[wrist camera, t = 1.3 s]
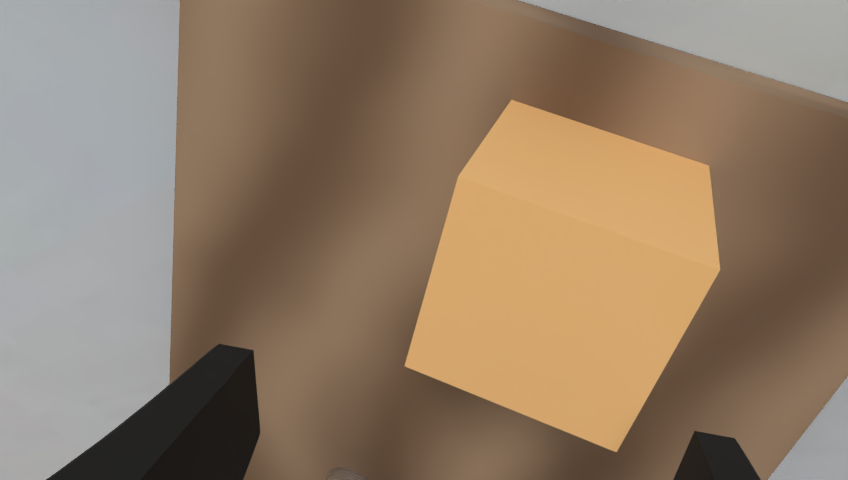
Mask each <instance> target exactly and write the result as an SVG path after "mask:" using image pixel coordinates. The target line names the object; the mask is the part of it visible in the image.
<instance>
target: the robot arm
mask: <svg viewBox="0 0 848 480" xmlns="http://www.w3.org/2000/svg"><path fill="white" fill-rule="evenodd" d="M259 436H260V421H259V409H258V397H257V386H256V374H255V362H254V351H253V350H251V349H245V348H240V347H234V346H229V345H223V344H218V345H216V346H215V347H213V348H212V349H211V350H210V351H209V352H207V353H206V354H205V355H204V356H203V357H201V358H200V359H199V360H198V361H197V362H196V363H194V364H193V365H192V366H191V367H190V368H189V369H187V370H186V371H185V372H184V373H183V374H181V375H180V376H179V377H178V378H177V379H176V380H174V381H173V382H172V383H171V384H170V385H168V386H167V387H166V388H165V389H164V390H162V391H161V392H160V393H159V394H158V395H156V396H155V397H154V398H153V399H152V400H150V401H149V402H148V403H147V404H145V405H144V406H143V407H142V408H140V409H139V410H138V411H137V412H135V413H134V414H133V415H132V416H130V417H129V418H128V419H127V420H125V421H124V422H123V423H122V424H120V425H119V426H118V427H117V428H115V429H114V430H113V431H112V432H110V433H109V434H108V435H107V436H105V437H104V438H103V439H101V440H100V441H99V442H97V443H96V444H95V445H93V446H92V447H90V448H89V449H88V450H86V451H85V452H84V453H82V454H81V455H80V456H78V457H77V458H75V459H74V460H73V461H71V462H70V463H69V464H67V465H66V466H65V467H63V468H62V469H60V470H59V471H58V472H56V473H55V474H53V475H52V476H51V477H49V478H48V479H46V480H243V479H244V476H245V474H246V471H247V468H248V466H249V463H250V461H251V458H252V455H253V452H254V450H255V447H256V444H257V441H258V439H259ZM673 480H761V479H760V477H759V476H758V474H757V472H756V471H755V469H754V468H753V466H752V464H751V463H750V461H749V459H748V458H747V456H746V455H745V453H744V451H743V450H742V448H741V446H740V445H739V443H738V442H737V441H736V439H735V438H731V437H726V436H720V435H715V434H709V433H704V432H698V431H694V433H693V435H692V438H691V440H690V442H689V445H688V447H687V449H686V451H685V454H684V456H683V458H682V461H681V463H680V465H679V468H678V470H677V472H676V474H675V477H674V479H673Z"/></svg>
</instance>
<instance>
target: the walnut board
mask: <svg viewBox="0 0 848 480" xmlns="http://www.w3.org/2000/svg"><path fill="white" fill-rule="evenodd" d="M511 100H514V101H517V102H520V103H523V104H526V105H529V106H532V107H535V108H538V109H541V110H544V111H547V112H550V113H553V114H556V115H559V116H562V117H565V118H568V119H571V120H574V121H577V122H580V123H583V124H586V125H589V126H592V127H595V128H598V129H601V130H604V131H607V132H610V133H613V134H616V135H619V136H622V137H625V138H628V139H631V140H634V141H637V142H640V143H643V144H646V145H649V146H652V147H655V148H658V149H661V150H664V151H667V152H670V153H673V154H676V155H679V156H682V157H685V158H688V159H691V160H694V161H697V162H700V163H703V164H706V165H709V169H710V178H711V188H712V197H713V206H714V216H715V225H716V235H717V244H718V253H719V263H720V271H719V273H718V275H717V276H716V278H715V280H714V282H713V283H712V285H711V287H710V289H709V290H708V292H707V294H706V296H705V298H704V299H703V301H702V303H701V305H700V306H699V308H698V310H697V312H696V313H695V315H694V317H693V319H692V320H691V322H690V324H689V326H688V327H687V329H686V331H685V333H684V334H683V336H682V338H681V340H680V342H679V343H678V345H677V347H676V349H675V350H674V352H673V354H672V356H671V357H670V359H669V361H668V363H667V364H666V366H665V368H664V370H663V371H662V373H661V375H660V377H659V378H658V380H657V382H656V384H655V386H654V387H653V389H652V391H651V393H650V394H649V396H648V398H647V400H646V401H645V403H644V405H643V407H642V408H641V410H640V412H639V414H638V415H637V417H636V419H635V421H634V422H633V424H632V426H631V428H630V430H629V431H628V433H627V435H626V437H625V438H624V440H623V442H622V444H621V445H620V447H619V449H618V451H617V452H614V451H612V450H609V449H607V448H604V447H602V446H600V445H597V444H595V443H592V442H590V441H587V440H585V439H582V438H580V437H577V436H575V435H572V434H570V433H568V432H565V431H563V430H560V429H558V428H555V427H553V426H550V425H548V424H545V423H543V422H541V421H538V420H536V419H533V418H531V417H528V416H526V415H523V414H521V413H518V412H516V411H513V410H511V409H509V408H506V407H504V406H501V405H499V404H496V403H494V402H491V401H489V400H486V399H484V398H481V397H479V396H477V395H474V394H472V393H469V392H467V391H464V390H462V389H459V388H457V387H454V386H452V385H449V384H447V383H445V382H442V381H440V380H437V379H435V378H432V377H430V376H427V375H425V374H422V373H420V372H418V371H415V370H413V369H410V368H408V367H405V362H406V359H407V355H408V352H409V348H410V345H411V341H412V338H413V334H414V331H415V327H416V323H417V320H418V316H419V313H420V309H421V306H422V302H423V299H424V295H425V292H426V288H427V285H428V281H429V278H430V274H431V271H432V267H433V263H434V260H435V256H436V253H437V249H438V246H439V242H440V239H441V235H442V232H443V228H444V225H445V221H446V218H447V214H448V211H449V207H450V203H451V200H452V196H453V193H454V189H455V186H456V182H457V179H458V176H459V174H460V173H461V172H462V170H463V169H464V167H465V166H466V164H467V163H468V162H469V160H470V159H471V157H472V156H473V154H474V153H475V151H476V150H477V149H478V147H479V146H480V144H481V143H482V141H483V140H484V139H485V137H486V136H487V134H488V133H489V131H490V130H491V128H492V127H493V126H494V124H495V123H496V121H497V120H498V118H499V117H500V115H501V114H502V113H503V111H504V110H505V108H506V107H507V105H508V104H509V103H510V101H511ZM218 344H223V345H229V346H234V347H240V348H245V349H251V350H253V351H254V362H255V374H256V386H257V397H258V409H259V421H260V436H259V439H258V441H257V444H256V447H255V450H254V452H253V455H252V458H251V461H250V463H249V466H248V468H247V471H246V474H245V476H244V479H243V480H325V478H326V476H327V475H328V473H329V472H330V471H331V470H332V469H334V468H338V467H346V468H350V469H353V470H356V471H358V472H359V473H361V474H362V475H364V476H365V477H366V478H367V479H368V480H673V479H674V477H675V474H676V472H677V470H678V468H679V465H680V463H681V461H682V458H683V456H684V454H685V451H686V449H687V447H688V445H689V442H690V440H691V438H692V435H693V433H694V431H698V432H704V433H709V434H715V435H720V436H726V437H731V438H735V439H736V441H737V442H738V443H739V445H740V446H741V448H742V450H743V451H744V453H745V455H746V456H747V458H748V459H749V461H750V463H751V464H752V466H753V468H754V469H755V471H756V472H757V474H758V476H759V477H760V479H761V480H768V478H769V477H770V476H771V474H772V473H773V472H774V471H775V469H776V468H777V467H778V465H779V464H780V463H781V461H782V460H783V459H784V458H785V456H786V455H787V454H788V452H789V451H790V450H791V449H792V447H793V446H794V445H795V443H796V442H797V441H798V440H799V438H800V437H801V436H802V434H803V433H804V432H805V431H806V429H807V428H808V427H809V425H810V424H811V423H812V422H813V420H814V419H815V418H816V416H817V415H818V414H819V412H820V411H821V410H822V409H823V407H824V406H825V405H826V403H827V402H828V401H829V400H830V398H831V397H832V396H833V394H834V393H835V392H836V391H837V389H838V388H839V387H840V385H841V384H842V383H843V382H844V380H845V379H846V378H847V376H848V103H847V102H844V101H841V100H837V99H834V98H831V97H828V96H825V95H821V94H818V93H815V92H812V91H808V90H805V89H802V88H799V87H795V86H792V85H789V84H786V83H783V82H779V81H776V80H773V79H770V78H766V77H763V76H760V75H757V74H754V73H750V72H747V71H744V70H741V69H737V68H734V67H731V66H728V65H725V64H721V63H718V62H715V61H712V60H708V59H705V58H702V57H699V56H696V55H692V54H689V53H686V52H683V51H679V50H676V49H673V48H670V47H667V46H663V45H660V44H657V43H654V42H650V41H647V40H644V39H641V38H637V37H634V36H631V35H628V34H625V33H621V32H618V31H615V30H612V29H608V28H605V27H602V26H599V25H596V24H592V23H589V22H586V21H583V20H579V19H576V18H573V17H570V16H567V15H563V14H560V13H557V12H554V11H550V10H547V9H544V8H541V7H538V6H534V5H531V4H528V3H525V2H521V1H518V0H180V22H179V58H178V95H177V131H176V168H175V204H174V240H173V277H172V313H171V350H170V384H171V383H172V382H173V381H174V380H176V379H177V378H178V377H179V376H180V375H181V374H183V373H184V372H185V371H186V370H187V369H189V368H190V367H191V366H192V365H193V364H194V363H196V362H197V361H198V360H199V359H200V358H201V357H203V356H204V355H205V354H206V353H207V352H209V351H210V350H211V349H212V348H213V347H215V346H216V345H218Z"/></svg>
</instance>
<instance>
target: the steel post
mask: <svg viewBox="0 0 848 480" xmlns="http://www.w3.org/2000/svg"><path fill="white" fill-rule="evenodd" d="M325 480H368V479H367V478H366V477H365V476H364V475H362V474H361V473H359V472H358V471H356V470H353V469H350V468H346V467H338V468H334V469H332V470H331V471H330V472H329V473H328V475H327V476H326V478H325Z"/></svg>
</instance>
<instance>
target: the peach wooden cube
mask: <svg viewBox="0 0 848 480" xmlns="http://www.w3.org/2000/svg"><path fill="white" fill-rule="evenodd" d="M719 271H720V263H719V253H718V244H717V235H716V225H715V216H714V206H713V197H712V188H711V178H710V169H709V165H706V164H703V163H700V162H697V161H694V160H691V159H688V158H685V157H682V156H679V155H676V154H673V153H670V152H667V151H664V150H661V149H658V148H655V147H652V146H649V145H646V144H643V143H640V142H637V141H634V140H631V139H628V138H625V137H622V136H619V135H616V134H613V133H610V132H607V131H604V130H601V129H598V128H595V127H592V126H589V125H586V124H583V123H580V122H577V121H574V120H571V119H568V118H565V117H562V116H559V115H556V114H553V113H550V112H547V111H544V110H541V109H538V108H535V107H532V106H529V105H526V104H523V103H520V102H517V101H514V100H511V101H510V103H509V104H508V105H507V107H506V108H505V110H504V111H503V113H502V114H501V115H500V117H499V118H498V120H497V121H496V123H495V124H494V126H493V127H492V128H491V130H490V131H489V133H488V134H487V136H486V137H485V139H484V140H483V141H482V143H481V144H480V146H479V147H478V149H477V150H476V151H475V153H474V154H473V156H472V157H471V159H470V160H469V162H468V163H467V164H466V166H465V167H464V169H463V170H462V172H461V173H460V174H459V176H458V179H457V182H456V186H455V189H454V193H453V196H452V200H451V203H450V207H449V211H448V214H447V218H446V221H445V225H444V228H443V232H442V235H441V239H440V242H439V246H438V249H437V253H436V256H435V260H434V263H433V267H432V271H431V274H430V278H429V281H428V285H427V288H426V292H425V295H424V299H423V302H422V306H421V309H420V313H419V316H418V320H417V323H416V327H415V331H414V334H413V338H412V341H411V345H410V348H409V352H408V355H407V359H406V362H405V367H408V368H410V369H413V370H415V371H418V372H420V373H422V374H425V375H427V376H430V377H432V378H435V379H437V380H440V381H442V382H445V383H447V384H449V385H452V386H454V387H457V388H459V389H462V390H464V391H467V392H469V393H472V394H474V395H477V396H479V397H481V398H484V399H486V400H489V401H491V402H494V403H496V404H499V405H501V406H504V407H506V408H509V409H511V410H513V411H516V412H518V413H521V414H523V415H526V416H528V417H531V418H533V419H536V420H538V421H541V422H543V423H545V424H548V425H550V426H553V427H555V428H558V429H560V430H563V431H565V432H568V433H570V434H572V435H575V436H577V437H580V438H582V439H585V440H587V441H590V442H592V443H595V444H597V445H600V446H602V447H604V448H607V449H609V450H612V451H614V452H617V451H618V449H619V447H620V445H621V444H622V442H623V440H624V438H625V437H626V435H627V433H628V431H629V430H630V428H631V426H632V424H633V422H634V421H635V419H636V417H637V415H638V414H639V412H640V410H641V408H642V407H643V405H644V403H645V401H646V400H647V398H648V396H649V394H650V393H651V391H652V389H653V387H654V386H655V384H656V382H657V380H658V378H659V377H660V375H661V373H662V371H663V370H664V368H665V366H666V364H667V363H668V361H669V359H670V357H671V356H672V354H673V352H674V350H675V349H676V347H677V345H678V343H679V342H680V340H681V338H682V336H683V334H684V333H685V331H686V329H687V327H688V326H689V324H690V322H691V320H692V319H693V317H694V315H695V313H696V312H697V310H698V308H699V306H700V305H701V303H702V301H703V299H704V298H705V296H706V294H707V292H708V290H709V289H710V287H711V285H712V283H713V282H714V280H715V278H716V276H717V275H718V273H719Z"/></svg>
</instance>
